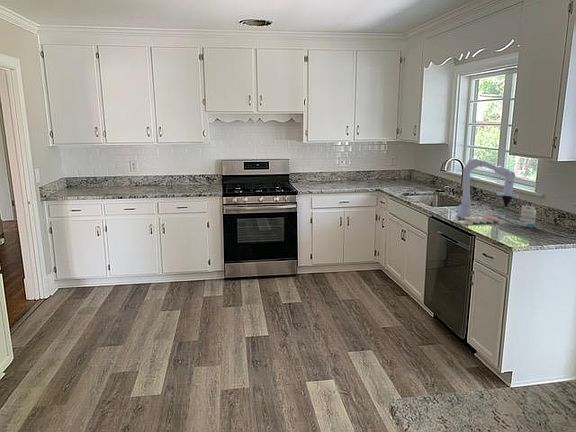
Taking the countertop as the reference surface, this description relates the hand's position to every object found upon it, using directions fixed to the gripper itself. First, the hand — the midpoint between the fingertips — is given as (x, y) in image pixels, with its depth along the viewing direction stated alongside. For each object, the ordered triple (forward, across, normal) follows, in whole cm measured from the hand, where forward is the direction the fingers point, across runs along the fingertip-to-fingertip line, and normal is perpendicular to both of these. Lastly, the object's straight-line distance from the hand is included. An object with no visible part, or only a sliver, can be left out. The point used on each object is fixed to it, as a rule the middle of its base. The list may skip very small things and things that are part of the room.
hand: (505, 206), depth 306 cm
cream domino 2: (+9, -9, -24) cm, 28 cm away
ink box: (+11, +17, -7) cm, 21 cm away
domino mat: (+10, -6, -16) cm, 20 cm away
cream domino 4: (+9, -3, -16) cm, 18 cm away
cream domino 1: (+9, -12, -28) cm, 32 cm away
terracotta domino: (+9, 0, -11) cm, 14 cm away
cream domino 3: (+9, -6, -20) cm, 23 cm away
